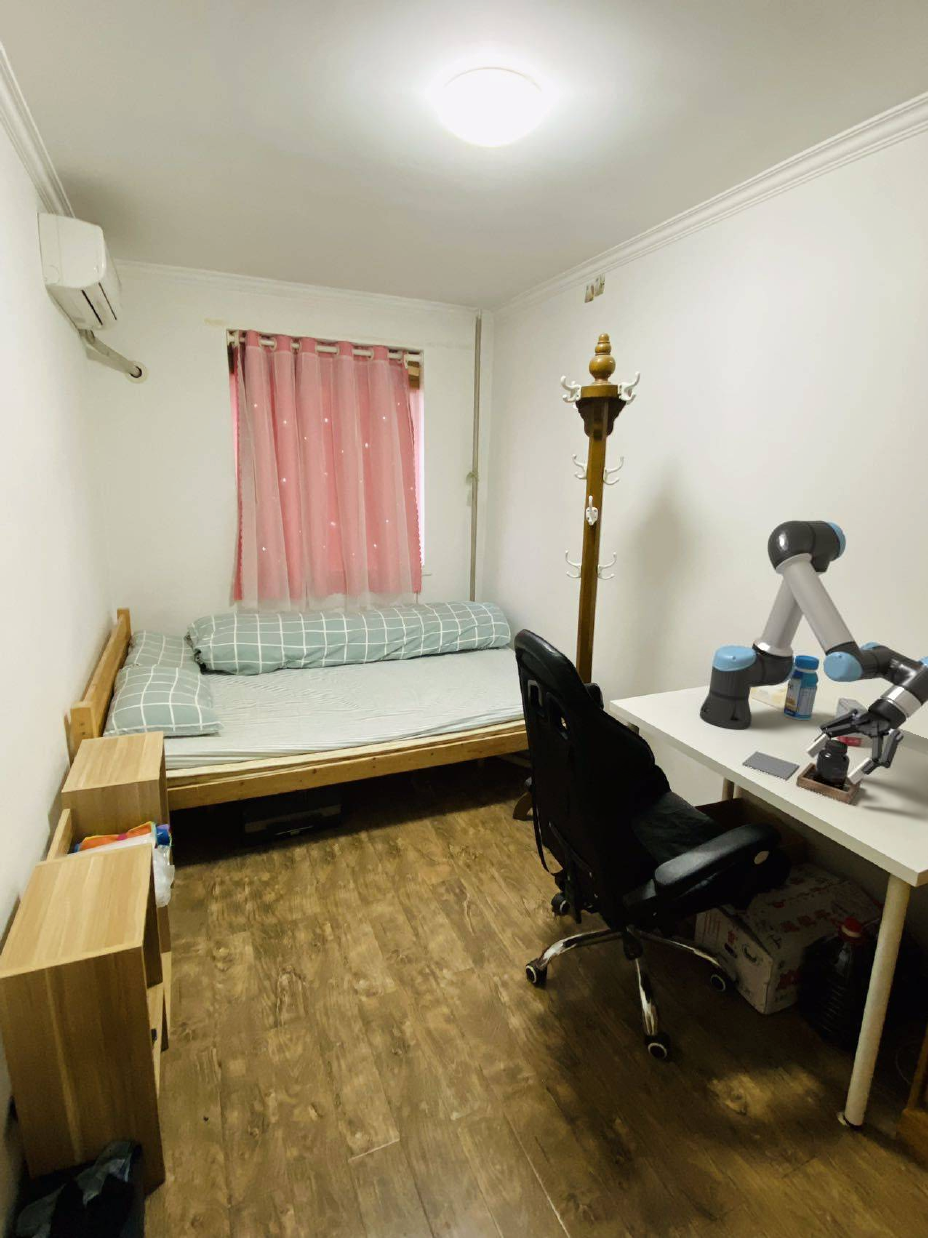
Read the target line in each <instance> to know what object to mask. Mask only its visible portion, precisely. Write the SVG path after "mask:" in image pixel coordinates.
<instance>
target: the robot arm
mask: <svg viewBox="0 0 928 1238" xmlns="http://www.w3.org/2000/svg"><path fill="white" fill-rule="evenodd" d="M846 539H847V538H846V535H845V534H844V532H843V529H842V528H841V527H840V526H839V525H837V524H836V523H834V522H832V521H825V520H824V521H823V520H821V519H820V520H788V521H784V522H783V523H781V524H779V525H777V526H776V527H775V528H774V529H773V531H772V532H771V534H770V535H769V538H768V541H767V555H768V558H769V561H770V563H771V565H772V567H773V569H774V572H775V573H776V574H778V575H781V576H782V581H781V582H780V583H781V584H780V586H779V588H778V591H777V594H776V596H775V599H774V602H773V604H772V607H771V610H770V613H769V615H768V618H767V620H766V624H765V626H764V629H763V632H762V633H761V636H760V637H758V638H755V639H754V640H753V644H752V646H751V647H750V646H745V645H734V644H733V645H725V646H721V647H719V648H717V650H715V653H714V658H713V659H712V666H711V674H710V675H711V676H710V681H709V689H708V693H707V696H706V698H705V699H704V702H703V703H702V705H701V707H700V710H699V718H701V720H703V721H704V722H707V723H708V724H711V725H713V726H716V727H720V728H725V729H731V730H733V729H735V730H736V729H737V730H740V729H741V730H742V729H747V728H750V727H751V725H752V718H753V716H752V712H751V707H750V702H749V698H750V694H751V688H757V687H758V688H759V687H767V686H769V687H772V686H779V685H782V684H785V683H786V682H788V681H789V680H790V678H791V677H792V676H793V674H794V671H795V668H796V664H795V657H794V650H793V648H792V646H791V645H792V642H793V640H794V638H795V635H796V633H797V631H798V628H799V625H800V623H801V620H802V618H803V615H804V618H805V620H806V622H807V623H808V625H809V627H810V629H811V631H812V632H813V635H814V636H815V638H816V640H817V642H818V644H819V645H820V647H821V649H822V650H823V652H824V655H825V657H824V660H823V662H822V665H823V672H824V675H826V676H827V678H828V679H830V680H831V681H833V682H837V683H852V682H853V683H854V682H858V681H864V680H873V679H874V680H875V679H883V680H884V681H887V682H889V683H890V684H892V685H891V686H890V688H888V689H887V690H886V691H884V692H883V693H882V694H881V695H880V697H879V698H877V699H876V700H875V701H874V702H873V703H872V704H870V705H869V707H868V708H867V713H865V714H863V715H862V714H861V713H859V712H858V711H857V709H853V710H851V711H850V712H849V713H848V714H845V715H843V716H841V717H838V718H836V719H835V718H834V719H831V720H830V721H827V722H825V723H822V724H820V725H819V729H820V730H821V733H820V735H818V736H817V737H816V738H815V739H814V741H813V742H814V743H812V744H811V745H810V746H809V747H808V748H807V749H805V752H806V753H807V754H808V755H809V756H810V758H812V759H814V758H815V757H817V756H818V753H819V752H820V751H821V750H822V749H824V746H825V742H826V740H830V739H834V738H836V737H839V736H843V735H848V734H852V733H862V736H866V737H868V738H869V739H871V742H872V743H871V756H870V758H869V757H866V758H865V759H864V760H863V761H862V762H860V764H858V765H857V766H856V767H855V768H854V769H853V770H851V772H849V773H848V776H847V777H848V778H849V779H850V781H851V782H852V783H853V784H856V783H857V782H858V781H859V780H860V779H862V778H864V777H865V776H869V775H870V774H872V773H873V772H874V771H875V770H876V769H877V768H880V767H883V768H884V769H886V770H887V769H890V768H891V766H892V764H893V760H894V758H895V755H896V752H897V749H898V746H899V743H901V741H903V739H904V737H905V736H904V735H903V733H902V731H901V730H900V729H899V727H901V726H902V725H904V723H906V721H907V719H909V718H910V717H912V716H913V715H914V713H916V712H917V711H918V710H920V709H921V707H923V706H924V704H926V703H927V702H928V656H923V657H922V658H920V659H919V660H918V661H917V660H915V659H912V658H910V657H907V656H906V655H904V654H901V653H899V652H897V651H895V650H893V649H891V648H889V646H886V645H883V644H879V643H877V642H874V641H871V642H867V643H866V644H864V645H862V646H861V647H859V645H858V643H857V642H856V639H854V636H853V634H852V633H851V631H850V629H849V628H848V626H847V624H846V623H845V621H844V619H843V616H842V615H841V614H840V611H839V610H838V608H837V607H836V604H835V603H834V601H833V599H832V598H831V595H830V593H828V591H827V589H826V587H825V586H824V584H823V582H822V581H821V578H820V577H819V576H820V575H823V574H826V572H827V571H828V568H829V566H830V564H831V562H834V561H836V560H837V559H839V558H840V557H841V556H843V554H844V552H845V550H846V547H847V546H846V545H847V541H846ZM856 725H858V727H857V726H856ZM887 736H888V737H887ZM885 737H887V739H886V742H885V739H884V738H885ZM884 742H885V745H884ZM883 746H884V748H883Z"/></svg>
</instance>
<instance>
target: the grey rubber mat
mask: <svg viewBox="0 0 928 1238" xmlns="http://www.w3.org/2000/svg"><path fill="white" fill-rule="evenodd" d="M742 764H743V765H742ZM741 765H742V766H744V765H745V766H744V767H746V766H749V767H752V768H754V769H753V770H755V769H758V770H760V771H759V772H761V771H762V772H761V773H764V772H766V773H765V774H767V773H768V774H767V775H769V774H772V775H774V776H773V777H775V776H777V777H776V778H778V777H780V778H779V779H781V778H783V779H782V780H784V779H785V780H784V781H787V780H788V779H789V778H790V777H791V776H792V775H793V773H795V771H796V770H797V769H798V768H799V767H800V765H799V764H796V763H794V762H791V761H787V760H784V759H782V758H778V757H775V756H772V755H769V754H765V753H762V752H759V751H755V752H753V754H751V755H750V756H749V757H748V758H747V759H746V760H744V761H743V762H742V763H741ZM749 767H748V768H749ZM752 768H751V769H752ZM758 770H757V771H758ZM772 775H771V776H772ZM787 778H788V779H787ZM786 779H787V780H786Z"/></svg>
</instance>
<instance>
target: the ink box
mask: <svg viewBox="0 0 928 1238" xmlns="http://www.w3.org/2000/svg"><path fill="white" fill-rule="evenodd" d="M853 709H857V711H858V712H859V713H861V714H862V715H863V714H865V713H867V711H868V708H866V707H865V706H863V704H861V703H860V702H859V701H858V700H857V699H851V698H843V697H839V698H838V701H837V707H836V712H835V717H834V719H836V718H838V717H841V716H843V715H845V714H848V713H849V712H850V711H851V710H853ZM856 726H857V727H858V725H856ZM835 738H836V740H838V741H841V742H844V743H846V744H847V746H852V747H853V746H854V747H861V742H862V738H863V734H862V733H852V734H848V735H843V736H839V737H835Z"/></svg>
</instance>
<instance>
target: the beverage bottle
mask: <svg viewBox="0 0 928 1238" xmlns="http://www.w3.org/2000/svg"><path fill="white" fill-rule="evenodd" d="M794 659H795V660H794V663H795V664H796V667H795V671H794V674H793V676H792V677H791V678H790V679H789V680H788V681H787V689H786V694H785V695H786V696H785V701H784V707H783V711H782V712H783V715H785V716H786V717H788V718H790V719H792V718H793V719H792V720H797V721H809V720H811V719H812V715H813V710H814V705H815V700H816V694H817V691H818V682H819V676H818V674H817V670H818V669H819V666H820V659H819V658H817V657H815V656H811V655H805V654H800V655H796V656H795V657H794Z"/></svg>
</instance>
